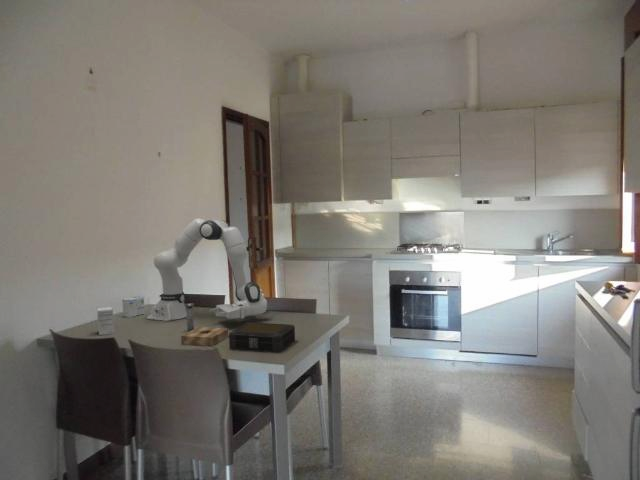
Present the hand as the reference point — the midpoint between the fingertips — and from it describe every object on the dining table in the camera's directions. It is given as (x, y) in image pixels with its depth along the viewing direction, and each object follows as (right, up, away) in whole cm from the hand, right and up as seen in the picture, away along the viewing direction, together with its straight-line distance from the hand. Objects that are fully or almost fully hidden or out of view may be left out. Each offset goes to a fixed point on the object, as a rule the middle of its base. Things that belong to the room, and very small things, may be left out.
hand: (212, 313), depth 255 cm
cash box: (+30, -10, -33) cm, 45 cm away
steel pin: (-10, -9, -5) cm, 14 cm away
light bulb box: (-54, -7, +34) cm, 64 cm away
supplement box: (-54, -10, -3) cm, 55 cm away
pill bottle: (+20, -5, +32) cm, 38 cm away
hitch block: (+1, -10, -23) cm, 25 cm away
